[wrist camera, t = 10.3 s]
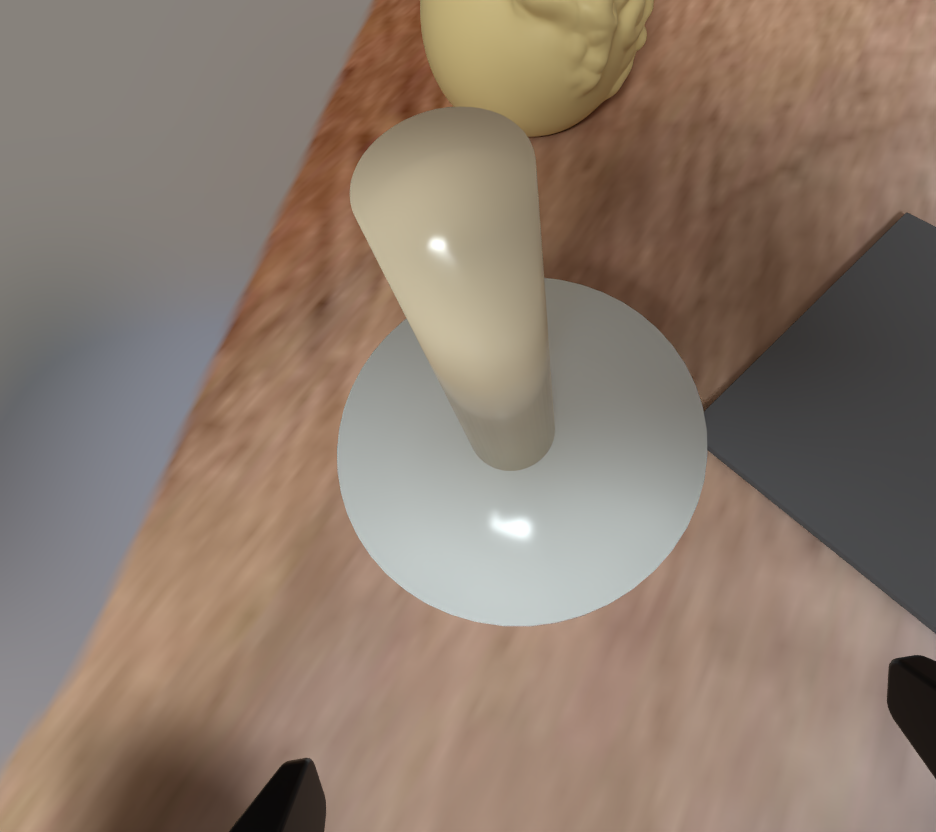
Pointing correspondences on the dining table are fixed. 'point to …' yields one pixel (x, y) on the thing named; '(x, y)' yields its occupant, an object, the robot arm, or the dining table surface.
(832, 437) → the mat
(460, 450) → the lid
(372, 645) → the dining table surface
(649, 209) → the dining table surface
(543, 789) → the dining table surface
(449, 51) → the sculpture
